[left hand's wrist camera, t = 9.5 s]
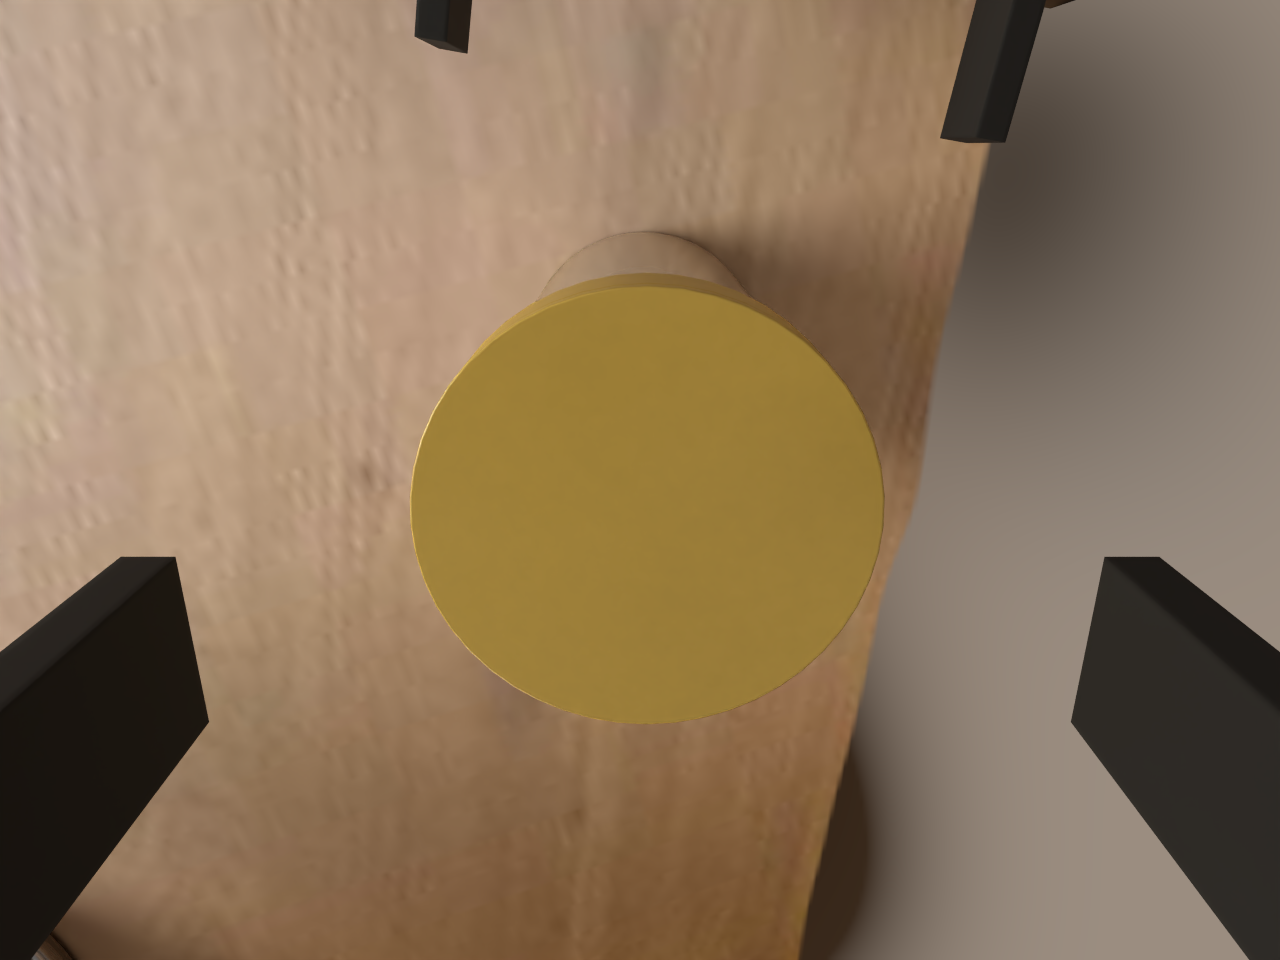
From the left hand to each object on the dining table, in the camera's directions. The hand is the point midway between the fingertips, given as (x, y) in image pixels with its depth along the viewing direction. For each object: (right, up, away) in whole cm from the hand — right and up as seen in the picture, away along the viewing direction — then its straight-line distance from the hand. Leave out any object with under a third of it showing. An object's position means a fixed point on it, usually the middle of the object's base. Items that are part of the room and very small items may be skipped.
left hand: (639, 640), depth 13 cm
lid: (0, +2, +4) cm, 5 cm away
